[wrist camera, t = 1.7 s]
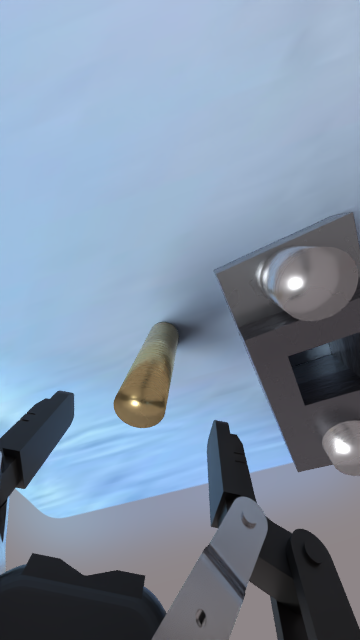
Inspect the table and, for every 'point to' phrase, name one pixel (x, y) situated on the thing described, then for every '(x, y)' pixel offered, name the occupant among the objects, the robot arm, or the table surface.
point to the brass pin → (149, 379)
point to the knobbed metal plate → (305, 337)
